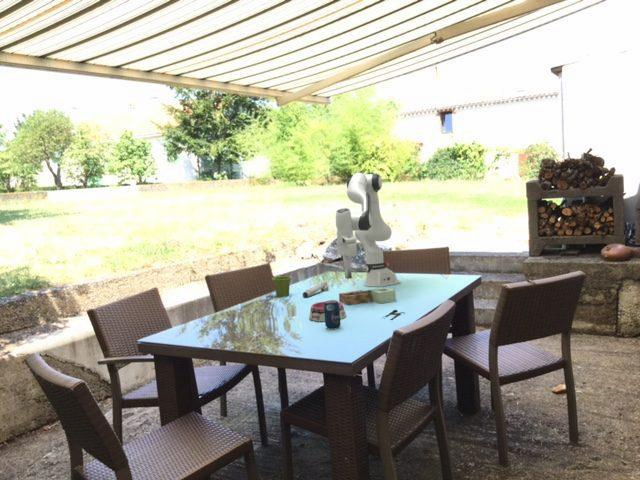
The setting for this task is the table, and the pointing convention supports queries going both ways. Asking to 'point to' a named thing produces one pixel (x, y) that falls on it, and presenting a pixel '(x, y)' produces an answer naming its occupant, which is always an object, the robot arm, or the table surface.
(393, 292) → the square hole block
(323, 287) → the white elongated piece
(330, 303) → the soda can
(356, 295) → the socket block
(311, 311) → the dog bowl
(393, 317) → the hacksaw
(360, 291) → the block
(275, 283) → the plant pot
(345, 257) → the peg
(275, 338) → the table surface
